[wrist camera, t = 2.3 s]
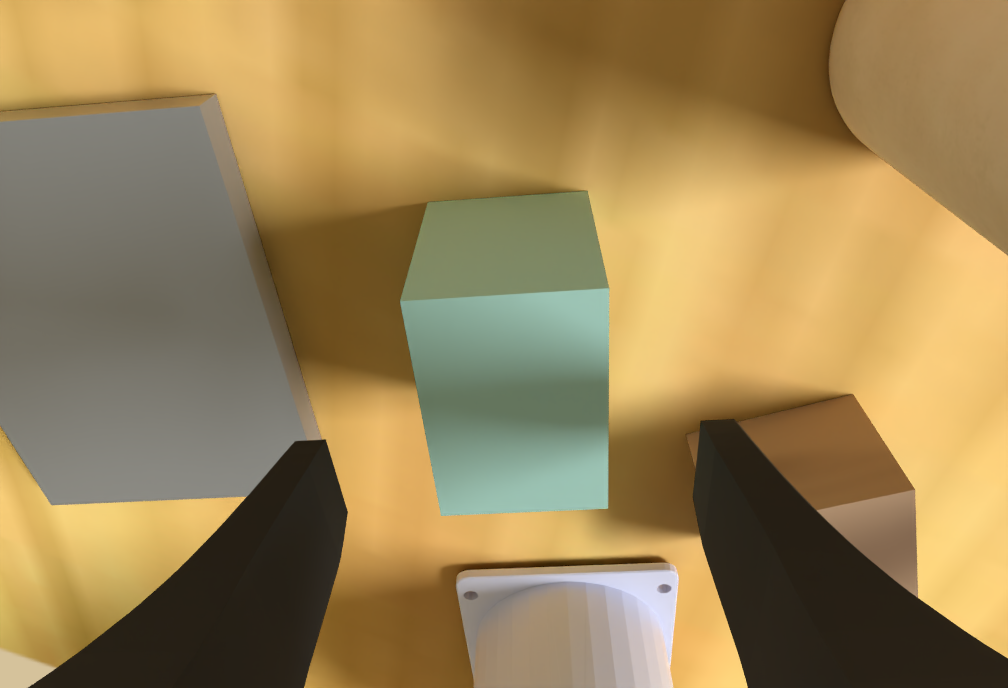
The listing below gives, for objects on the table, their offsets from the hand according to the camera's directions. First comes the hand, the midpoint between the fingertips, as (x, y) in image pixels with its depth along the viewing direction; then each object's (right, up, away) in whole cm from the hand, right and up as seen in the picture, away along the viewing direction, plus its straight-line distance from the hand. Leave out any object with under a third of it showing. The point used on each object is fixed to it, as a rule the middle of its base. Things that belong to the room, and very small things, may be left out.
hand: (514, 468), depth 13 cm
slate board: (-11, +3, +6) cm, 13 cm away
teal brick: (0, +4, +6) cm, 7 cm away
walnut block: (+9, -2, +9) cm, 13 cm away
